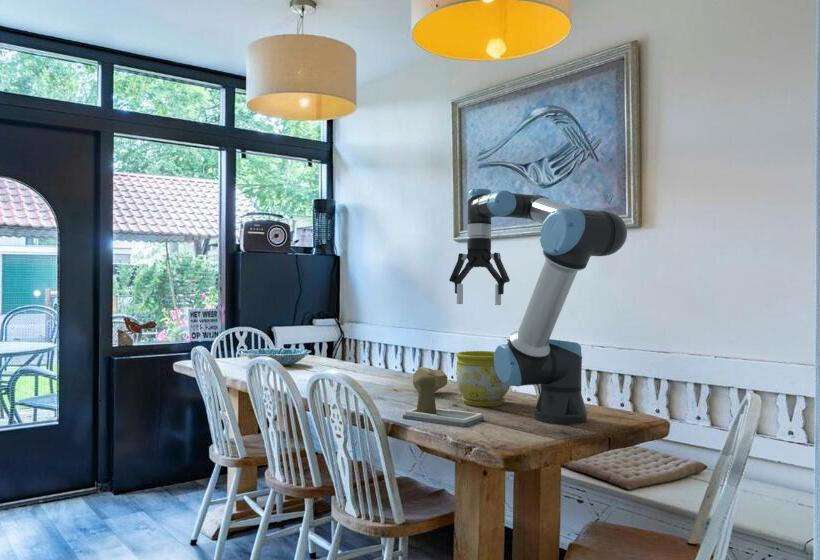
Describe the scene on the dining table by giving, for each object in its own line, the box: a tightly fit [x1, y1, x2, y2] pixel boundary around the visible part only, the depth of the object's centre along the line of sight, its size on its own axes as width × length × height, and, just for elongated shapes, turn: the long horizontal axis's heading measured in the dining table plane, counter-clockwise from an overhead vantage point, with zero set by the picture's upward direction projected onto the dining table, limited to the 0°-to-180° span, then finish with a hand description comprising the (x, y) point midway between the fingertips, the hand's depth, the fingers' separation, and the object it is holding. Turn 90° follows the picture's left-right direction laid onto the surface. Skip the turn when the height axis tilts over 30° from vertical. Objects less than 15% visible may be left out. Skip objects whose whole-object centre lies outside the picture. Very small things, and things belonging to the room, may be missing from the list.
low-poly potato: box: [412, 366, 448, 394], centre depth 229 cm, size 15×11×12 cm
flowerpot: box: [456, 350, 511, 408], centre depth 212 cm, size 18×18×16 cm
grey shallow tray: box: [402, 407, 484, 428], centre depth 185 cm, size 20×12×2 cm, turn 57°
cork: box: [416, 375, 437, 414], centre depth 188 cm, size 6×6×11 cm
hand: (478, 304), depth 204 cm, fingers open, 13 cm apart
